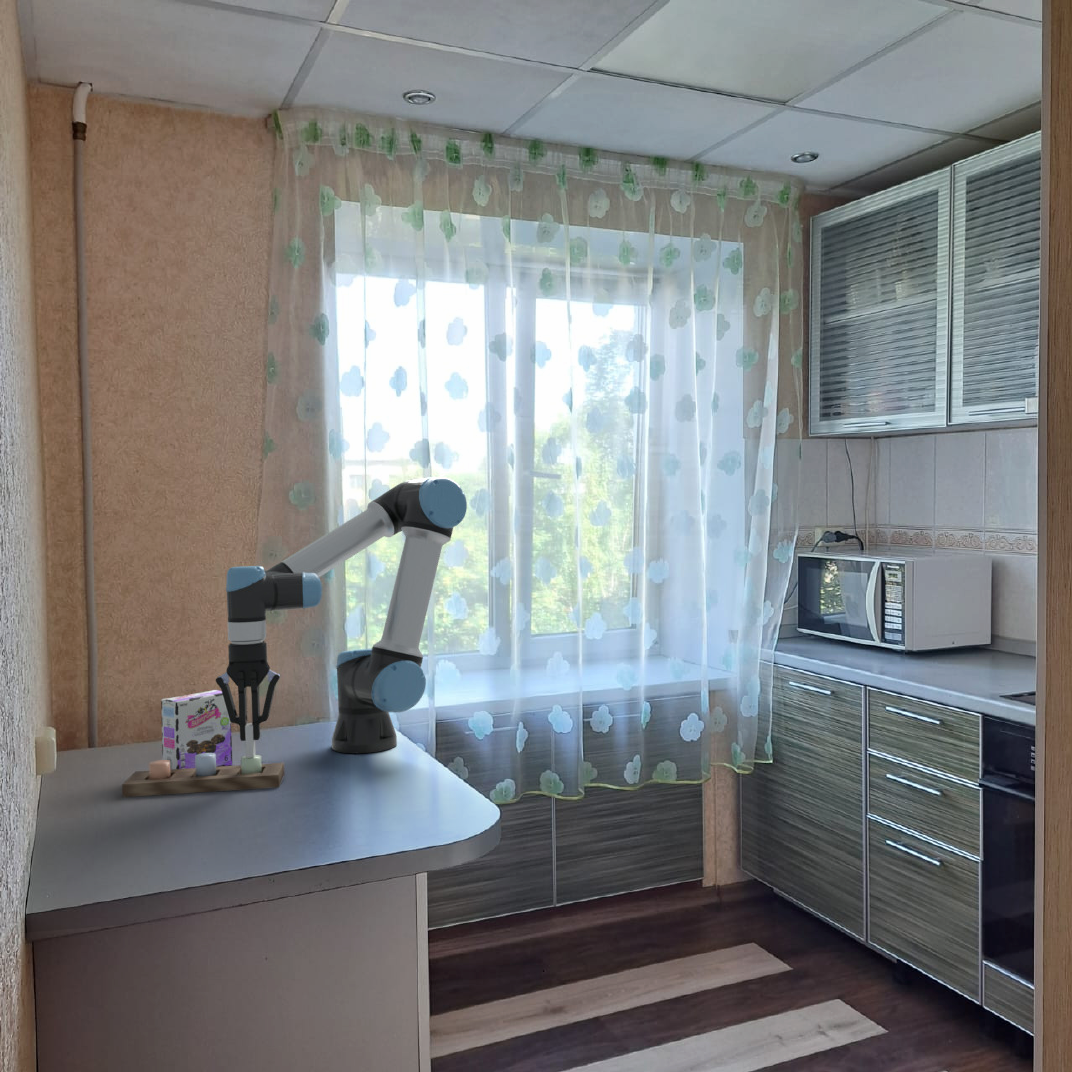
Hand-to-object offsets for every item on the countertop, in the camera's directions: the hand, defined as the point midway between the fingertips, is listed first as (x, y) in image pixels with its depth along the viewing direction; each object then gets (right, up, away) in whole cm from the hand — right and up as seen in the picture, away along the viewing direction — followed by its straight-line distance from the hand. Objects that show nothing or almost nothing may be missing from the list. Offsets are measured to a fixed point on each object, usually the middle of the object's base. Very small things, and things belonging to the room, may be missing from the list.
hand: (250, 755), depth 200 cm
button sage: (0, -4, 0) cm, 4 cm away
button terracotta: (-18, -5, -2) cm, 19 cm away
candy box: (-15, -6, +12) cm, 20 cm away
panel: (-9, -6, -1) cm, 11 cm away
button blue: (-9, -4, -1) cm, 10 cm away
